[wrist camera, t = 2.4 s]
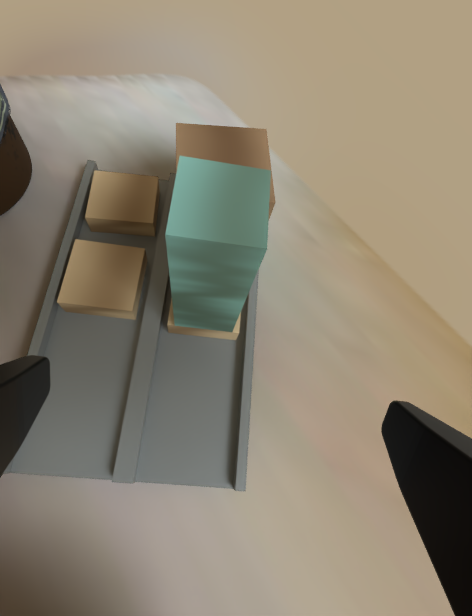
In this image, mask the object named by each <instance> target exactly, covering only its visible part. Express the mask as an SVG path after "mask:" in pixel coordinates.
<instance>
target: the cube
mask: <svg viewBox="0 0 472 616" xmlns="http://www.w3.org/2000/svg"><path fill="white" fill-rule="evenodd" d="M179 156H185V157H192V158H198V159H204V160H210V161H216V162H222V163H229V164H235V165H241V166H247V167H253V168H259V169H266V170H271V163H270V155H269V147H268V139H267V131H266V129H256V128H242V127H227V126H212V125H198V124H183V123H176V173H177V167H178V162H179ZM274 205H275V196H274V187H273V179H272V171H271V180H270V199H269V218H270V215H271V213H272V210H273V207H274ZM268 221H269V219H268Z"/></svg>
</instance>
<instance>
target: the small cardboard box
mask: <svg viewBox="0 0 472 616" xmlns="http://www.w3.org/2000/svg"><path fill="white" fill-rule="evenodd" d="M159 196H160V189H159V179H158V177H156V176H146V175H136V174H126V173H116V172H106V171H96V170H94V175H93V180H92V185H91V190H90V195H89V200H88V205H87V210H86V215H85V219H86V221H87V223H88V225H89V228H90V230H91V232H103V233H116V234H128V235H141V236H153V237H155V232H156V223H157V214H158V205H159Z"/></svg>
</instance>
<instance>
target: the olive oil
mask: <svg viewBox="0 0 472 616" xmlns="http://www.w3.org/2000/svg"><path fill="white" fill-rule="evenodd" d="M9 110H11V109H9V104H8V100H7V98H6V95H5V93H4V91H3V89H2V86H1V84H0V215H2V214H3V213H5V212H6V211H8V210H9V209H10V208H11V207H12V206H13V205H15V204H16V203H17V201H18V200H19V199H20V198H21V197H22V195H23V194H24V192H25V191H26V189H27V187H28V185H29V182H30V179H31V173H32V164H31V159H30V155H29V153H28V150H27V148H26V146H25V144H24V142H23V140H22V138H21V136H20V134H19V132H18V130H17V128H16V126H15V124H14V122H13V120H12V118H11V116H10V114H9V113H11V112H8V111H9Z"/></svg>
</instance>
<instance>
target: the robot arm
mask: <svg viewBox="0 0 472 616" xmlns="http://www.w3.org/2000/svg"><path fill="white" fill-rule="evenodd" d="M50 385H51V384H50V361H49V359H48V358H47V357H45V356H37V355H29V356H26V357H23V358H20V359H16V360H13V361H10V362H7V363H4V364H1V365H0V477H1V476H2V474H3V473H4V471H5V470H6V468H7V467H8V465H9V464H10V462H11V461H12V459H13V458H14V456H15V455H16V453H17V452H18V450H19V449H20V447H21V445H22V443H23V442H24V440H25V438H26V436H27V434H28V432H29V430H30V429H31V427H32V425H33V423H34V421H35V419H36V417H37V415H38V413H39V412H40V410H41V408H42V406H43V404H44V402H45V400H46V398H47V396H48V394H49V391H50ZM382 436H383V439H384V442H385V445H386V448H387V451H388V454H389V457H390V460H391V464H392V467H393V470H394V473H395V476H396V479H397V482H398V485H399V487H400V490H401V492H402V495H403V497H404V499H405V502H406V504H407V506H408V509H409V511H410V513H411V516H412V518H413V520H414V522H415V525H416V527H417V529H418V532H419V534H420V536H421V539H422V541H423V543H424V545H425V548H426V550H427V552H428V555H429V557H430V559H431V562H432V564H433V566H434V569H435V571H436V573H437V575H438V578H439V580H440V582H441V585H442V587H443V589H444V592H445V594H446V596H447V598H448V601H449V603H450V605H451V608H452V610H453V612H454V615H455V616H472V439H471V438H470V437H468V436H466V435H464V434H463V433H461V432H459V431H458V430H456V429H454V428H452V427H451V426H449V425H447V424H445V423H444V422H442V421H440V420H439V419H437V418H435V417H433V416H432V415H430V414H428V413H426V412H425V411H423V410H421V409H419V408H418V407H416V406H414V405H413V404H411V403H409V402H404V401H392V402H391V403H390V405H389V408H388V410H387V413H386V415H385V418H384V421H383V423H382Z"/></svg>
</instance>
